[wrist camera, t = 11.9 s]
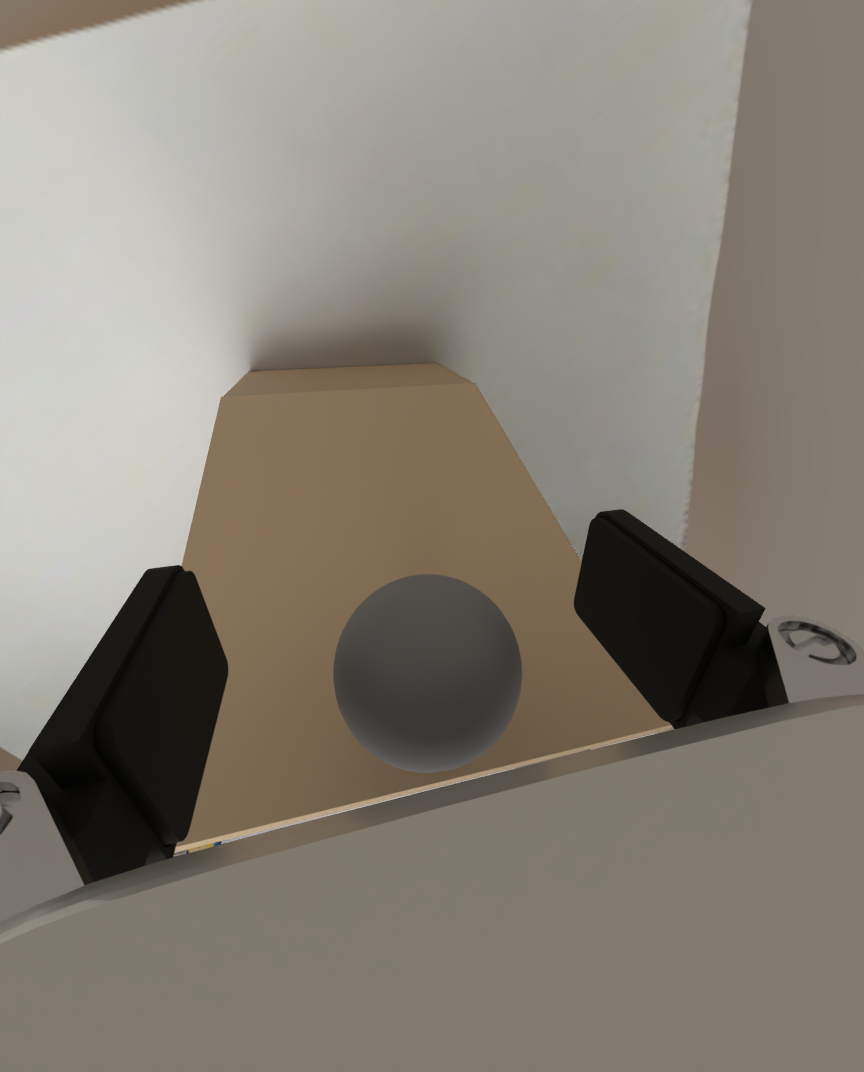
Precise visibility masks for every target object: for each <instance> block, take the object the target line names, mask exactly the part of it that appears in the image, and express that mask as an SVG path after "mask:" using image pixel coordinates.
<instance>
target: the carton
mask: <svg viewBox="0 0 864 1072" xmlns="http://www.w3.org/2000/svg"><path fill="white" fill-rule="evenodd" d="M463 383H472V382H470V381H468V380H467V379H465V378H463V377H461V376H459V375H458V374H456V373H454V372H452V371H450V370H449V369H447V368H445V367H443V366H442V365H440V364H438V363H421V364H399V365H377V366H354V367H332V368H309V369H287V370H264V371H249V372H248V373H247V374H246V375H245V376H244V377H243V378H242V379H241V380H240V381H239V382H238V383H237V384H236V385H235V386H234V387H232V388H231V389H230V390H229V391H228V392H227V393H226V394H225V395H224V396H223V397H228V396H246V395H264V394H282V393H300V392H319V391H337V390H355V389H373V388H391V387H409V386H427V385H445V384H463Z"/></svg>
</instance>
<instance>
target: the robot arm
mask: <svg viewBox="0 0 864 1072" xmlns="http://www.w3.org/2000/svg"><path fill="white" fill-rule="evenodd" d="M574 609H575V612H576V614H577V615H578V616H579V618H580V619H581V620H582V621H583V623H584V624H585V625H586V626H587V628H588V629H589V630H590V631H591V633H592V634H593V635H594V636H595V637H596V639H597V640H598V641H599V642H600V644H601V645H602V646H603V647H604V649H605V650H606V651H607V652H608V654H609V655H610V656H611V657H612V659H613V660H614V661H615V662H616V664H617V665H618V666H619V667H620V668H621V670H622V671H623V672H624V673H625V675H626V676H627V677H628V678H629V680H630V681H631V682H632V683H633V685H634V686H635V687H636V688H637V690H638V691H639V692H640V693H641V695H642V696H643V697H644V698H645V700H646V701H647V702H648V703H649V704H650V706H651V707H652V708H653V709H654V711H655V712H656V713H657V714H658V716H659V717H660V718H661V719H663V720H664V721H666V722H669V723H670V724H671V725H672V726H673V727H674V729H675V730H671V731H667V732H663V733H659V734H655V735H650V736H646V737H642V738H638V739H634V740H630V741H626V742H622V743H618V744H613V745H609V746H605V747H601V748H597V749H593V750H591V749H589V750H585V751H581V752H577V753H573V754H569V755H565V756H561V757H557V758H553V759H549V760H545V761H540V762H536V763H532V764H528V765H524V766H520V767H516V768H515V769H513V770H509V771H505V772H501V773H497V774H493V775H489V776H485V777H481V778H477V779H473V780H469V781H465V782H461V783H457V784H453V785H449V786H445V787H441V788H437V789H433V790H429V791H425V792H421V793H417V794H413V795H409V796H406V797H402V798H398V799H394V800H390V801H386V802H382V803H378V804H374V805H370V806H366V807H362V808H359V809H355V810H351V811H347V812H343V813H339V814H335V815H331V816H327V817H323V818H319V819H315V820H311V821H308V822H304V823H300V824H296V825H292V826H288V827H284V828H280V829H276V830H273V831H269V832H265V833H262V834H258V835H254V836H251V837H247V838H243V839H240V840H236V841H232V842H229V843H225V844H221V845H218V846H214V847H210V848H207V849H203V850H199V851H196V852H192V853H188V854H185V855H181V856H177V857H174V858H173V856H174V852H175V848H176V845H177V842H181V841H184V840H185V839H186V837H187V835H188V832H189V829H190V826H191V822H192V818H193V814H194V810H195V806H196V802H197V798H198V794H199V790H200V786H201V782H202V778H203V774H204V770H205V766H206V762H207V758H208V754H209V750H210V746H211V742H212V738H213V734H214V730H215V726H216V722H217V718H218V714H219V710H220V706H221V702H222V698H223V694H224V690H225V686H226V682H227V678H228V661H227V658H226V656H225V653H224V650H223V648H222V645H221V642H220V640H219V637H218V634H217V632H216V629H215V626H214V624H213V621H212V619H211V616H210V613H209V611H208V608H207V605H206V603H205V600H204V597H203V595H202V592H201V589H200V587H199V584H198V581H197V579H196V576H195V574H194V573H193V572H192V571H185V570H184V569H183V567H182V566H180V565H176V566H168V567H160V568H152V569H148V570H147V571H146V572H145V573H144V574H143V576H142V578H141V579H140V581H139V582H138V584H137V585H136V587H135V588H134V590H133V591H132V593H131V594H130V596H129V597H128V599H127V601H126V602H125V604H124V605H123V607H122V608H121V610H120V611H119V613H118V614H117V616H116V617H115V619H114V620H113V622H112V624H111V625H110V627H109V628H108V630H107V631H106V633H105V634H104V636H103V637H102V639H101V640H100V642H99V643H98V645H97V647H96V648H95V650H94V651H93V653H92V654H91V656H90V657H89V659H88V660H87V662H86V663H85V665H84V667H83V668H82V670H81V671H80V673H79V674H78V676H77V677H76V679H75V680H74V682H73V683H72V685H71V686H70V688H69V690H68V691H67V693H66V694H65V696H64V697H63V699H62V700H61V702H60V703H59V705H58V706H57V708H56V709H55V711H54V713H53V714H52V716H51V717H50V719H49V720H48V722H47V723H46V725H45V726H44V728H43V729H42V731H41V733H40V734H39V736H38V737H37V739H36V740H35V742H34V743H33V745H32V746H31V748H30V749H29V752H28V754H27V755H26V757H25V758H24V760H23V761H22V763H21V764H20V766H19V768H18V769H17V771H14V770H10V771H4V772H0V1072H864V651H863V649H862V648H861V647H860V646H859V645H858V644H857V643H856V642H854V641H853V640H852V639H851V638H849V637H848V636H846V635H845V634H843V633H841V632H839V631H838V630H836V629H834V628H832V627H830V626H827V625H825V624H823V623H821V622H817V621H814V620H811V619H808V618H803V617H797V616H779V617H775V618H773V619H772V620H771V621H770V622H769V623H768V625H767V627H765V626H763V625H762V624H761V623H760V622H759V620H760V618H761V616H762V614H763V612H764V610H765V608H764V607H763V606H761V605H760V604H758V603H757V602H756V601H754V600H753V599H751V598H750V597H748V596H747V595H745V594H744V593H743V592H741V591H740V590H738V589H737V588H736V587H734V586H733V585H731V584H730V583H728V582H727V581H726V580H724V579H722V578H721V577H720V576H718V575H717V574H716V573H714V572H713V571H711V570H710V569H708V568H707V567H706V566H704V565H703V564H701V563H700V562H698V561H697V560H695V559H694V558H693V557H691V556H690V555H688V554H687V553H685V552H684V551H683V550H681V549H680V548H678V547H677V546H675V545H674V544H673V543H671V542H670V541H668V540H667V539H665V538H664V537H663V536H661V535H660V534H658V533H657V532H655V531H654V530H653V529H651V528H650V527H648V526H647V525H645V524H644V523H643V522H641V521H640V520H638V519H637V518H635V517H634V516H632V515H631V514H630V513H628V512H627V511H625V510H623V509H621V510H612V511H604V512H600V513H598V514H597V516H596V517H595V518H594V519H592V521H591V522H590V526H589V530H588V535H587V540H586V545H585V549H584V554H583V559H582V564H581V568H580V573H579V578H578V582H577V587H576V592H575V597H574Z"/></svg>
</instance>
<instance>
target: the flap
mask: <svg viewBox="0 0 864 1072" xmlns="http://www.w3.org/2000/svg"><path fill="white" fill-rule="evenodd" d="M581 564H582V562H581V560H580V559H579V557H578V555H577V554H576V552H575V550H574V549H573V547H572V545H571V544H570V542H569V540H568V539H567V537H566V535H565V534H564V532H563V530H562V529H561V527H560V525H559V523H558V522H557V520H556V518H555V517H554V515H553V513H552V512H551V510H550V508H549V507H548V505H547V503H546V502H545V500H544V498H543V497H542V495H541V493H540V492H539V490H538V488H537V487H536V485H535V483H534V481H533V480H532V478H531V476H530V475H529V473H528V471H527V470H526V468H525V466H524V465H523V463H522V461H521V460H520V458H519V456H518V455H517V453H516V451H515V450H514V448H513V446H512V445H511V443H510V441H509V439H508V438H507V436H506V434H505V433H504V431H503V429H502V428H501V426H500V424H499V423H498V421H497V419H496V418H495V416H494V414H493V413H492V411H491V409H490V408H489V406H488V404H487V402H486V401H485V399H484V397H483V396H482V394H481V392H480V391H479V389H478V387H477V386H476V384H475V383H463V384H445V385H427V386H409V387H391V388H373V389H355V390H337V391H319V392H300V393H282V394H264V395H246V396H228V397H221V400H220V404H219V408H218V413H217V417H216V421H215V426H214V430H213V434H212V438H211V443H210V447H209V451H208V456H207V460H206V464H205V468H204V473H203V477H202V481H201V486H200V490H199V494H198V498H197V503H196V507H195V511H194V516H193V520H192V524H191V528H190V533H189V537H188V541H187V546H186V550H185V554H184V558H183V563H182V567H183V569H184V570H185V571H192V572H193V573H194V574H195V576H196V579H197V581H198V584H199V587H200V589H201V592H202V595H203V597H204V600H205V603H206V605H207V608H208V611H209V613H210V616H211V619H212V621H213V624H214V626H215V629H216V632H217V634H218V637H219V640H220V642H221V645H222V648H223V650H224V653H225V656H226V658H227V661H228V678H227V682H226V686H225V690H224V694H223V698H222V702H221V706H220V710H219V714H218V718H217V722H216V726H215V730H214V734H213V738H212V742H211V746H210V750H209V754H208V758H207V762H206V766H205V770H204V774H203V778H202V782H201V786H200V790H199V794H198V798H197V802H196V806H195V810H194V814H193V818H192V822H191V826H190V829H189V832H188V835H187V837H186V839H185V840H184V841H181V842H177V845H176V848H175V852H179V851H183V850H187V849H191V848H195V847H199V846H203V845H207V844H211V843H215V842H219V841H223V840H227V839H231V838H235V837H239V836H243V835H247V834H251V833H255V832H259V831H263V830H267V829H271V828H275V827H279V826H283V825H287V824H291V823H295V822H299V821H303V820H307V819H311V818H316V817H320V816H324V815H328V814H332V813H336V812H340V811H344V810H348V809H352V808H356V807H360V806H364V805H368V804H372V803H376V802H380V801H384V800H388V799H392V798H396V797H400V796H404V795H408V794H412V793H416V792H420V791H424V790H428V789H432V788H436V787H440V786H444V785H448V784H452V783H456V782H460V781H464V780H468V779H472V778H476V777H480V776H484V775H488V774H492V773H496V772H500V771H504V770H508V769H512V768H516V767H520V766H524V765H528V764H532V763H536V762H540V761H545V760H549V759H553V758H557V757H561V756H565V755H569V754H573V753H577V752H581V751H585V750H589V749H593V748H597V747H601V746H605V745H609V744H613V743H617V742H621V741H625V740H629V739H633V738H637V737H641V736H645V735H649V734H653V733H657V732H661V731H665V730H668V729H670V728H671V727H673V726H672V725H671V724H670V723H669V722H666V721H664V720H663V719H661V718H660V717H659V716H658V714H657V713H656V712H655V711H654V709H653V708H652V707H651V706H650V704H649V703H648V702H647V701H646V700H645V698H644V697H643V696H642V695H641V693H640V692H639V691H638V690H637V688H636V687H635V686H634V685H633V683H632V682H631V681H630V680H629V678H628V677H627V676H626V675H625V673H624V672H623V671H622V670H621V668H620V667H619V666H618V665H617V664H616V662H615V661H614V660H613V659H612V657H611V656H610V655H609V654H608V652H607V651H606V650H605V649H604V647H603V646H602V645H601V644H600V642H599V641H598V640H597V639H596V637H595V636H594V635H593V634H592V633H591V631H590V630H589V629H588V628H587V626H586V625H585V624H584V623H583V621H582V620H581V619H580V618H579V616H578V615H577V614H576V612H575V609H574V597H575V592H576V587H577V582H578V578H579V573H580V568H581ZM175 852H174V853H175Z"/></svg>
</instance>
